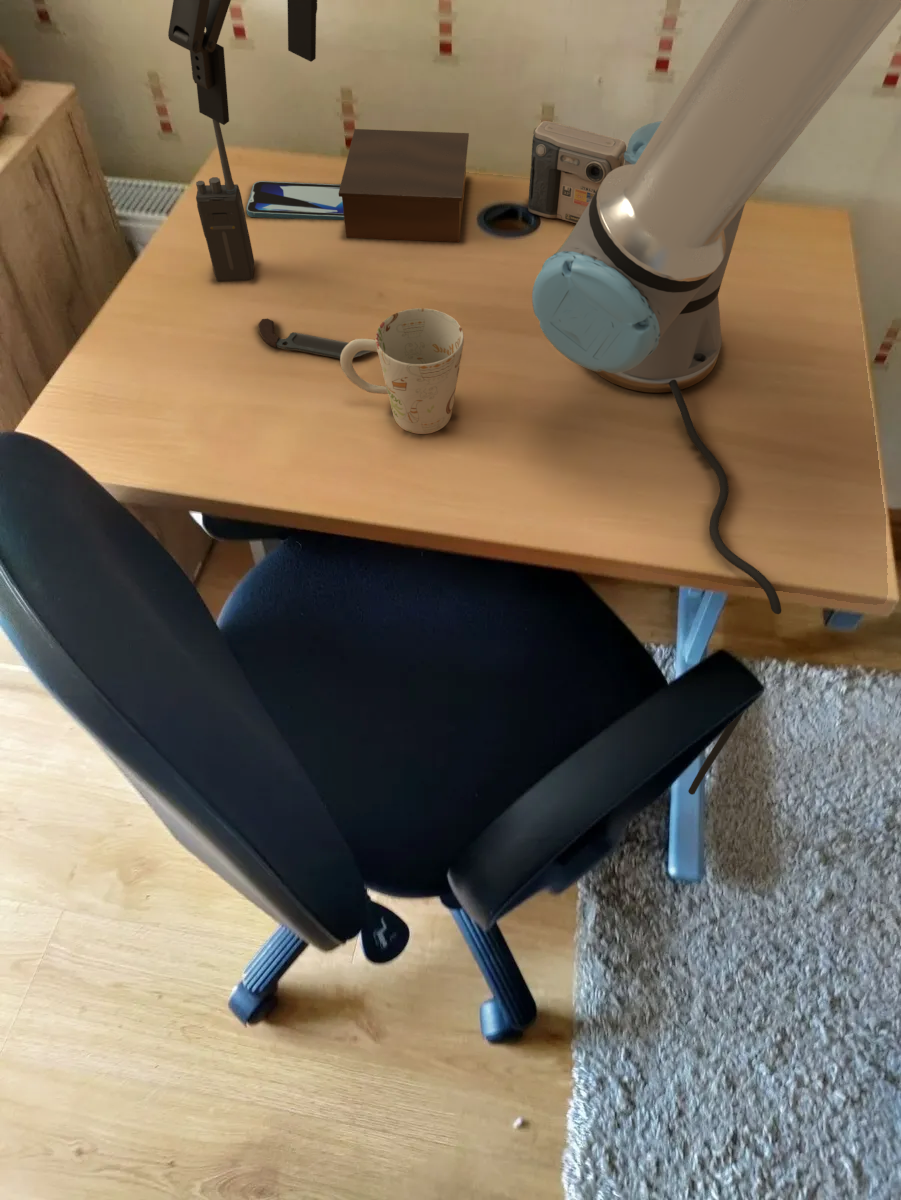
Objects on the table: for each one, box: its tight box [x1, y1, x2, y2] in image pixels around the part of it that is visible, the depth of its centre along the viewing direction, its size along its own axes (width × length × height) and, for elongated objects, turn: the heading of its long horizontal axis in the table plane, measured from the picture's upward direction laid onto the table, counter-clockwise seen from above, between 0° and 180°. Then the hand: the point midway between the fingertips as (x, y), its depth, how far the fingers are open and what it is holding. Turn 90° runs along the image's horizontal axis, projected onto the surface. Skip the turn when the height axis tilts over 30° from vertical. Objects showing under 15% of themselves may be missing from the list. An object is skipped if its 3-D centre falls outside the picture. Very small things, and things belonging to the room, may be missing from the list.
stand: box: [339, 128, 470, 243], centre depth 110 cm, size 15×15×6 cm
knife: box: [258, 318, 374, 359], centre depth 97 cm, size 14×4×1 cm, turn 74°
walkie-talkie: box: [195, 119, 255, 282], centre depth 97 cm, size 5×3×20 cm
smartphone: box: [245, 180, 344, 221], centre depth 113 cm, size 7×1×15 cm
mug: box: [339, 307, 465, 435], centre depth 88 cm, size 8×13×10 cm, turn 78°
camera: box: [527, 120, 627, 224], centre depth 108 cm, size 11×6×10 cm, turn 61°
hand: (259, 85), depth 83 cm, fingers open, 13 cm apart
